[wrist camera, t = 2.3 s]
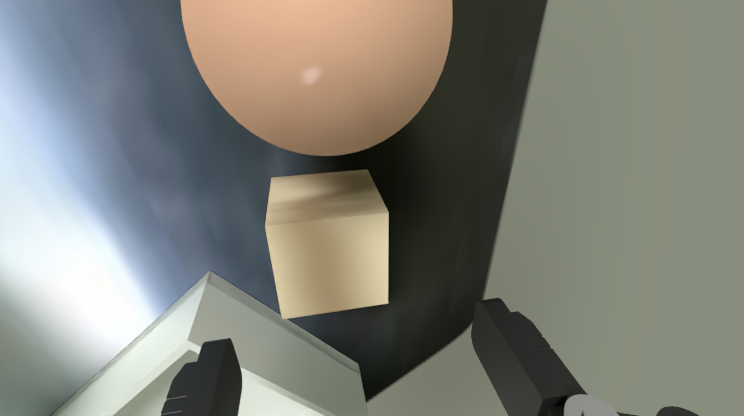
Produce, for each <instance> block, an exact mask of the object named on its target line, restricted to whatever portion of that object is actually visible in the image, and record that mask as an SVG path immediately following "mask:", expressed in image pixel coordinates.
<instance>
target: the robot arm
mask: <svg viewBox="0 0 744 416" xmlns="http://www.w3.org/2000/svg"><path fill="white" fill-rule="evenodd" d="M471 338H472V343H473V347H474V349H475V352H476V354H477V356H478V358H479V360H480V362H481V363H482V365H483V367H484V369H485V371H486V373H487V375H488V377H489V379H490V381H491V383H492V385H493V387H494V389H495V390H496V392H497V394H498V396H499V398H500V400H501V402H502V404H503V406H504V408H505V410H506V411H507V414H508V415H509V416H637V415H630V414H623V413H618V412H616V411H615V410H613V408H611V407H610V406H609V405H608V404H606V403H605V402H603V401H602V400H600V399H598V398H595V397H593V396H589V395H588V394H587V393H586V392H585V391H584V390H583V389H582V387H581V386H580V385H579V384H578V382H577V381H576V379H575V378H574V377H573V376H572V374H571V373H570V372H569V370H568V369H567V368H566V367H565V365H564V364H563V362H562V361H561V360H560V358H559V357H558V356H557V354H556V353H555V352H554V350H553V349H551V348H550V345H549V344H548V342H547V341H546V340H545V338H543V337H542V334H541V333H540V332H539V330H538V329H537V328H536V326H535V325H534V324H533V323H532V322H531V321H530V320H529V319H527V318H526V317H525V316H523V315H522V314H521V313H519V312H518V311H517V312H510V311H509V309H508V308H507V306H506V305H505V303H504V302H503V301H502V300H501V299H500V298H495V299H488V300H482V301H477V302H476V304H475V310H474V317H473V324H472V331H471ZM241 393H242V372H241V368H240V365H239V361H238V358H237V355H236V352H235V349H234V345H233V342H232V340H231V338H226V339H220V340H213V341H207V342H204V343H203V344H202V347H201V350H200V353H199V356H198V360H197V361H196V362H190V363H185V364H184V366H183V367H182V368H181V370H180V371H179V372H178V373H177V375H176V376H175V377H174V379H173V380H172V383H171V386H170V388H169V391H168V394H167V397H166V401H165V403H164V405H163V408H162V411H161V416H238V412H239V405H240V399H241ZM656 416H698V415H697V414H695V413H693V412H691V411H689V410H686V409H683V408H679V407H673V406H672V407H664V408H662V409H660V411H659V412H658V413H657V415H656Z"/></svg>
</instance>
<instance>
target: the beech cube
mask: <svg viewBox="0 0 744 416" xmlns="http://www.w3.org/2000/svg"><path fill="white" fill-rule="evenodd" d="M265 229H266V234H267V240H268V245H269V251H270V256H271V262H272V267H273V272H274V278H275V283H276V289H277V294H278V300H279V305H280V311H281V316H282V319H288V318H295V317H301V316H308V315H314V314H321V313H328V312H334V311H341V310H348V309H354V308H361V307H367V306H374V305H381V304H387V303H388V246H389V212H388V210H387V208H386V206H385V204H384V202H383V200H382V198H381V196H380V194H379V192H378V190H377V188H376V186H375V184H374V182H373V180H372V178H371V176H370V174H369V172H368V170H367V169H365V170H354V171H343V172H331V173H320V174H309V175H297V176H286V177H275V178H271V186H270V193H269V200H268V208H267V215H266V222H265Z"/></svg>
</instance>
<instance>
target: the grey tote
mask: <svg viewBox="0 0 744 416" xmlns="http://www.w3.org/2000/svg"><path fill="white" fill-rule="evenodd" d="M226 338H231V340H232V342H233V345H234V349H235V352H236V355H237V358H238V361H239V365H240V368H241V372H242V393H241V399H240V405H239V412H238V416H368V412H367V407H366V401H365V396H364V391H363V386H362V380H361V375H360V370H359V365H358V363H356V362H354V361H353V360H351V359H350V358H348V357H346V356H345V355H343V354H342V353H340V352H338V351H337V350H335V349H334V348H332V347H331V346H329V345H327V344H326V343H324V342H323V341H321V340H319V339H318V338H316V337H315V336H313V335H311V334H310V333H308V332H307V331H305V330H303V329H302V328H300V327H299V326H297V325H296V324H294V323H292V322H291V321H289V320H288V319H282V316H281V315H280V314H278V313H276V312H275V311H273V310H272V309H270V308H269V307H267V306H265V305H264V304H262V303H261V302H259V301H257V300H256V299H254V298H253V297H251V296H249V295H248V294H246V293H245V292H243V291H242V290H240V289H238V288H237V287H235V286H234V285H232V284H230V283H229V282H227V281H226V280H224V279H222V278H221V277H219V276H218V275H216V274H214V273H213V272H211V271H209V272H208V273H207V274H206V275H205V276H204V277H202V278H201V279H200V280H199V281H198V282H197V283H196V284H195V285H194V286H193V287H191V288H190V289H189V290H188V291H187V292H186V293H185V294H184V295H183V296H182V297H180V298H179V299H178V300H177V301H176V302H175V303H174V304H173V305H172V306H171V307H169V308H168V309H167V310H166V311H165V312H164V313H163V314H162V315H161V316H160V317H158V318H157V319H156V320H155V321H154V322H153V323H152V324H151V325H150V326H149V327H147V328H146V329H145V330H144V331H143V332H142V333H141V334H140V335H139V336H138V337H136V338H135V339H134V340H133V341H132V342H131V343H130V344H129V345H128V346H127V347H126V348H124V349H123V350H122V351H121V352H120V353H119V354H118V355H117V356H116V357H115V358H113V359H112V360H111V361H110V362H109V363H108V364H107V365H106V366H105V367H104V368H102V369H101V370H100V371H99V372H98V373H97V374H96V375H95V376H94V377H93V378H91V379H90V380H89V381H88V382H87V383H86V384H85V385H84V386H83V387H82V388H80V389H79V390H78V391H77V392H76V393H75V394H74V395H73V396H72V397H71V398H69V399H68V400H67V401H66V402H65V403H64V404H63V405H62V406H61V407H60V408H58V409H57V410H56V411H55V412H54V413H53V414H52V415H51V416H161V411H162V408H163V405H164V403H165V401H166V397H167V394H168V391H169V388H170V386H171V383H172V380H173V379H174V377H175V376H176V375H177V373H178V372H179V371H180V370H181V368H182V367H183V366H184V364H185V363H190V362H196V361H197V360H198V356H199V353H200V350H201V347H202V344H203V343H204V342H207V341H213V340H220V339H226Z"/></svg>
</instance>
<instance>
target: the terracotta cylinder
mask: <svg viewBox="0 0 744 416" xmlns="http://www.w3.org/2000/svg"><path fill="white" fill-rule="evenodd" d="M181 9H182V19H183V24H184V29H185V33H186V37H187V42H188V45H189V47H190V50H191V53H192V56H193V59H194V61H195V63H196V65H197V67H198V69H199V71H200V74H201V76H202V78H203V79H204V81H205V83H206V84H207V86H208V87H209V89H210V90H211V92H212V93H213V95H214V96H215V97H216V99H217V100H218V101H219V102H220V104H221V105H222V106H223V107H224V108H225V110H226V111H227V112H228V113H229V114H230V115H232V116H233V117H234V118H235V119H236V120H237V121H238V122H239V123H240V124H241V125H243V126H244V127H245V128H247V129H248V130H249V131H251V132H252V133H253V134H255V135H257V136H258V137H260V138H262V139H264V140H265V141H267V142H269V143H271V144H274V145H276V146H278V147H280V148H283V149H286V150H290V151H293V152H296V153H301V154H307V155H315V156H335V155H344V154H349V153H354V152H358V151H361V150H364V149H367V148H370V147H372V146H374V145H376V144H378V143H380V142H382V141H384V140H386V139H387V138H389V137H390V136H392V135H394V134H395V133H396V132H398V131H399V130H400V129H401V128H403V127H404V126H405V125H406V124H407V123H408V122H409V121H410V120H411V119H412V118H413V117H414V116H415V115H416V114H417V113H418V112H419V110H420V109H421V108H422V106H423V105H424V104H425V102H426V101H427V100H428V98H429V96H430V94H431V93H432V91H433V89H434V88H435V86H436V84H437V81H438V79H439V77H440V75H441V72H442V70H443V67H444V64H445V60H446V57H447V54H448V49H449V44H450V39H451V30H452V0H181Z"/></svg>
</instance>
